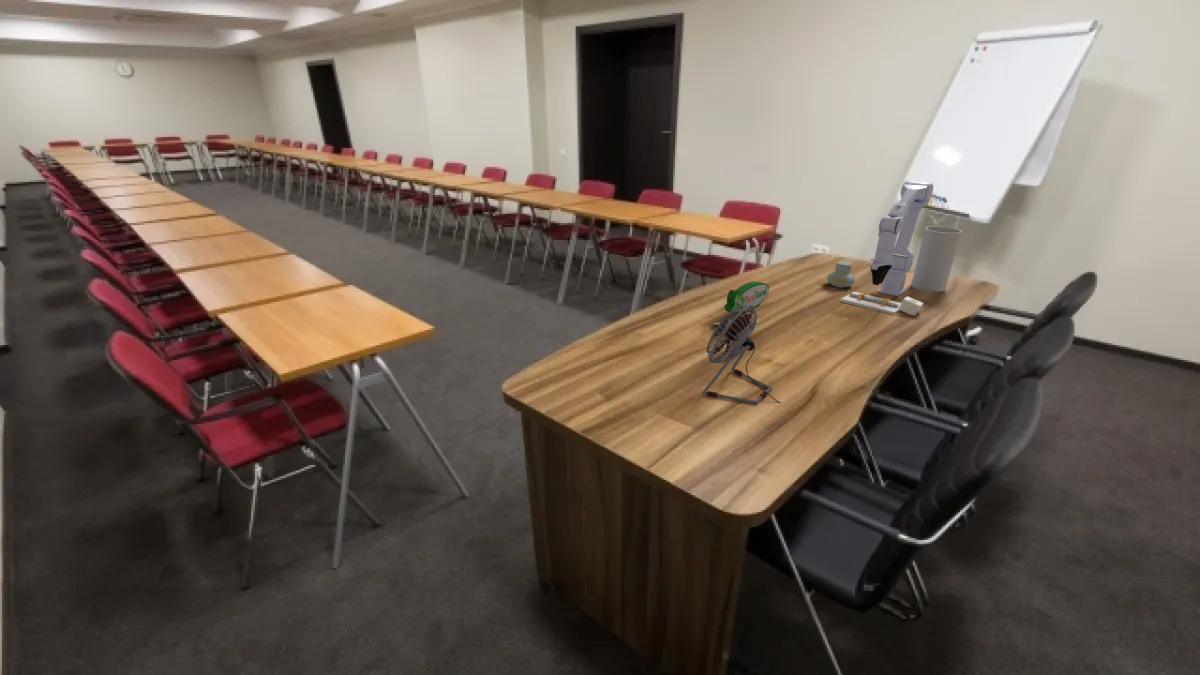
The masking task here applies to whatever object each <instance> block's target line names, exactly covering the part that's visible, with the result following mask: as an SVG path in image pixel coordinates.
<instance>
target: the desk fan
mask: <svg viewBox="0 0 1200 675" xmlns="http://www.w3.org/2000/svg"><path fill="white" fill-rule="evenodd" d="M743 306H745V307H743ZM743 306H742V305H739V306H737V307H736V308H734V309H733V310H732V311H730V312H728V313H726V314H725V316H724V317H723V318H722V319H721V320H720V321H719V323H720V324H719V325H717V326H716V327H715V329H713V331H712V333H711V336H710V338H709V340H708V343H707V346H706V353H707V355H708V361H709V362H710V363H711V364H723V365H722V366H721V367H720V369H719V370H718V371H717V372H716V374H715V375H714V376H713V378H712V379H711V381H710V382H709V383H708V384H707V386H706V387H705V388H704V389H703V391H702V392H701V394H702V395H703V396H704V395H705V396H706V395H707V396H708V397H712V398H716V399H717V398H722V399H728V400H732V401H733V400H734V401H737V402H738V401H739V402H743V403H744V402H745V403H749V404H755V405H758V404H759V402H760V401H761V400H764V399H765V398H767V396H770V398H772V400H774V401H775V402H777V403H779V404H782V402H781V401H778V400H777V399H776V398H775V397H773V396H772V395H771V394H770V392H771V391H772V390H773V386H770V385H767V384H765V383H763V382H762V381H760V380H758V379H755V378H754V377H751V376H750V375H749V372H748V363H749V361H750V360H751V358H752V357H753V355H754V354H755V351H756V350H755V349H756V346H755V342H754V341H752V340H750V339H751V335H752V334H753V332H754V329H756V328H755V326H757V325H756V323H757V320H758V314H757V312H756V309H755V308H754V306H753V305H752V304H749V305H743ZM740 307H741V309H740ZM738 308H739V309H740V310H741V311H740V312H738V311H739V310H738V311H737V309H738ZM748 308H750V309H751V310H749V309H748ZM746 309H748V311H745V310H746ZM735 310H736V311H737V313H736V311H735ZM734 312H735V314H734ZM744 313H745V314H744ZM748 313H749V314H748ZM750 320H751V321H750ZM728 321H730V323H729V322H728ZM752 321H753V323H752ZM750 322H751V324H752V325H750ZM727 323H729V324H727ZM748 324H749V326H750V327H749V326H748ZM726 325H727V327H726ZM746 327H747V329H745V328H746ZM744 329H745V331H744ZM743 331H744V332H743ZM741 334H742V335H741ZM724 335H725V336H724ZM722 339H723V340H722ZM725 346H726V347H725ZM723 350H724V351H723ZM746 351H747V352H748V351H749V352H752V354H751V355H750V357H749V358H748V359H747V361H746V363H745V364H746V365H745V372H746V373H744V372H743V371H741V370H739V369H737V368H736V367H737V365H738V363H739V362H740V361H741V359H742V358H743V356H744V355H745V353H746ZM719 353H721V354H719ZM714 356H715V357H714ZM735 358H737V359H736V361H734V364H733V365H732V367H731V368H730V370H731V372H733V373H734V374H736V375H738V376H739V377H743V378H746V379H747V380H749V381H752V382H753V383H754V384H755V386H756V387H758V389H759V390H761V391H762V393H760V394H759V397H758V398H757V399H756V400H751V399H747V398H742V397H736V396H732V395H731V396H730V395H725V394H720V393H718V392H717V391H716V392H714V391H710V390H709V389H710V388H711V387H712V386H713V384H714V383H715V382H716V380H717V379H718V378H719V376H720V375H721V374H722V373H723V371H724V370H725V369H726V368H727V366H728V365H729V364H730V363H731V361H733V360H734V359H735ZM735 368H736V369H735ZM759 385H760V386H762V387H764V388H766V390H764V389H763V388H761V387H760V386H759Z"/></svg>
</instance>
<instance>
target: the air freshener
mask: <svg viewBox="0 0 1200 675" xmlns="http://www.w3.org/2000/svg"><path fill="white" fill-rule="evenodd" d="M852 265H853V264H852V263H851V262H848V261H837V262H836V263H835V269H834V270H833V271H831V272H830V273H829V274H828V275H827V278H826V279H827V282H828V283H829V284H830V285H831V286H833V287H835V288H840V289H842V288H848V287H851V286H852V285H854V283H855V281H856V278H855V276H854V275H853V273H851V269H852Z"/></svg>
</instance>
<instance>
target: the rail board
mask: <svg viewBox="0 0 1200 675" xmlns="http://www.w3.org/2000/svg"><path fill="white" fill-rule="evenodd" d="M852 293H854V294H858V295H859V294H861V293H862V292H856V291H853V292H852ZM849 295H850V293H849V294H848V295H845V296H844V297H842V298H840V302H841V303H845V304H849V305H854V306H856V307H857V306H858V307H862V308H866V309H870V310H875V311H876V312H877V311H878V312H881V313H886V314H889V315H895V314H897V313H898V312H900V311H901V310H898V308H899V307H900V305H901V303H902V302H898V301H894V300H891V299H890V301H889V302H891V303H895V304H899V307H898V308H895V307H891V306H887V305H886V306H884V305H882V304H879V303H875V302H871V301H867V300H863V299H862V300H860V299H858V298H855V297H851V296H849ZM865 296H866V297H870V298H874V299H879V300H885V299H886V298H882V297H878V296H874V295H869V294H865Z"/></svg>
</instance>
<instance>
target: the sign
mask: <svg viewBox="0 0 1200 675" xmlns="http://www.w3.org/2000/svg"><path fill="white" fill-rule="evenodd" d="M769 292H770V287H769V284H767V283H764V282H761V281H755V280H754V281H749V282H747V283H744V284H742V285H740V286H739V287H738V288H736V289H730V290H729V292H728V294H727V296H726V304H724V306H723V307H724V310H725V311H726V312H728V313H729V312H730V311H732V310H733V309H734V308H736V307H737V306H739V305H742V306H743V305H749V304H752V305H753V306H754V309H755V308H757V307H758V306H759V305H761V303H762V302H764V300H765V299H767V296H768V294H769ZM743 307H745V306H743ZM740 309H741V307H740ZM740 309H739V308H738V309H737V311H738V310H739V311H738V312H740V311H741V310H740ZM748 309H749V311H751V309H750V308H748ZM748 309H746V310H745V311H748ZM735 311H736V310H735ZM737 311H736V313H737V314H738V312H737ZM736 313H735V312H734V314H735V315H736ZM734 314H733V315H734Z"/></svg>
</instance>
